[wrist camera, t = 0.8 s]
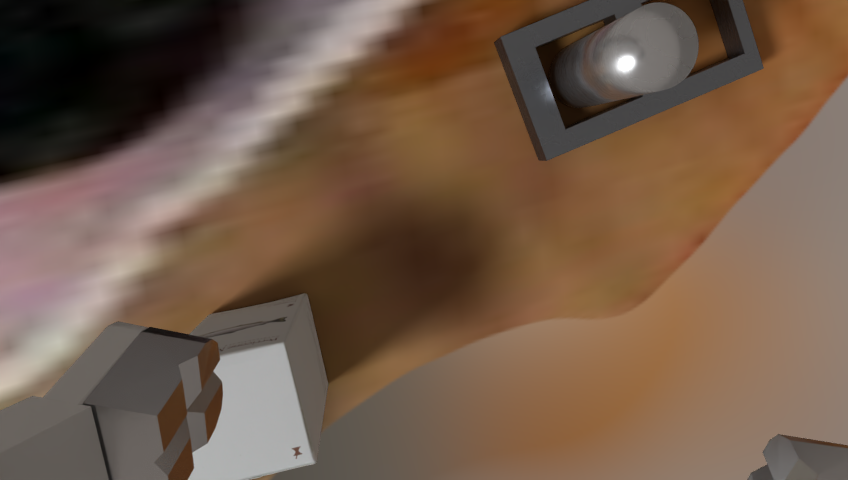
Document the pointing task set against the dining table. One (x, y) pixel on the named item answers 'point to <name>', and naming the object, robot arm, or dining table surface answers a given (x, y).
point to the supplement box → (264, 391)
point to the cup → (626, 58)
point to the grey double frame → (555, 139)
